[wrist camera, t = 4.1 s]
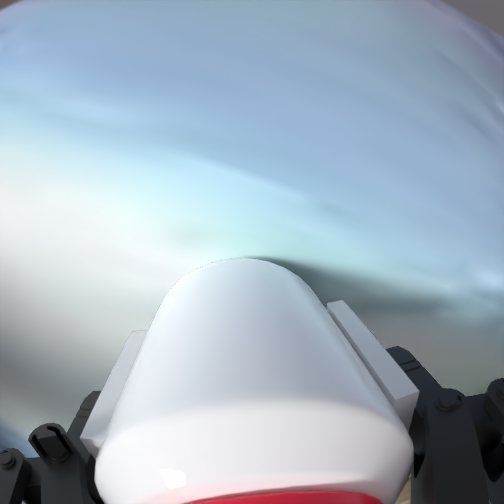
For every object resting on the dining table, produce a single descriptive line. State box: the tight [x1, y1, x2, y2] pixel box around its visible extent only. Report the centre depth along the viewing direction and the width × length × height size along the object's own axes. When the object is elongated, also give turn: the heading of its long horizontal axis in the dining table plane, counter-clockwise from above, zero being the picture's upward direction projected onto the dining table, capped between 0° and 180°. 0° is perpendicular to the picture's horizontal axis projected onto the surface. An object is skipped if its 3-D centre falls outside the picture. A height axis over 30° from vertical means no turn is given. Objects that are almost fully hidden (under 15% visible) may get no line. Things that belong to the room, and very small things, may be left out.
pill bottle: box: [94, 258, 414, 504], centre depth 8 cm, size 8×8×11 cm
